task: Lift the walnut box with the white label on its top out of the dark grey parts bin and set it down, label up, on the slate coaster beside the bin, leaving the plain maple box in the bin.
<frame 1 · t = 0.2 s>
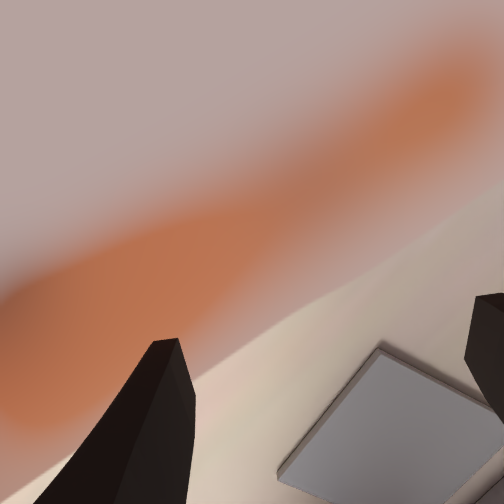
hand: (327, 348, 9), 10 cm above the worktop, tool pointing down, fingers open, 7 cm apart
coaster: (393, 446, 25), on the worktop
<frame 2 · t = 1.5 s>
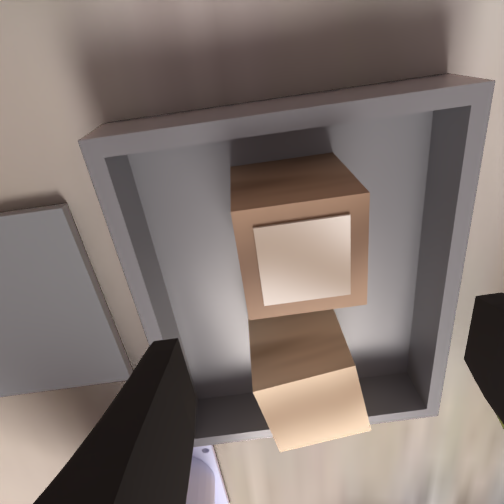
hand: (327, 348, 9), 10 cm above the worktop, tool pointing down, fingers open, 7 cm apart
coaster: (3, 312, 20), on the worktop
box plain: (297, 336, 22), resting on parts bin
box stamped: (285, 207, 18), resting on parts bin
parts bin: (291, 273, 20), on the worktop
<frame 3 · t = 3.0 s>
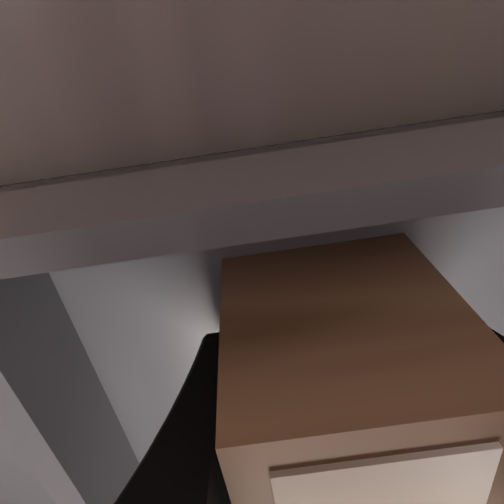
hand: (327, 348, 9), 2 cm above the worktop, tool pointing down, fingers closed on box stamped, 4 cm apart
box stamped: (317, 317, 10), resting on parts bin, touching gripper
parts bin: (320, 400, 13), on the worktop
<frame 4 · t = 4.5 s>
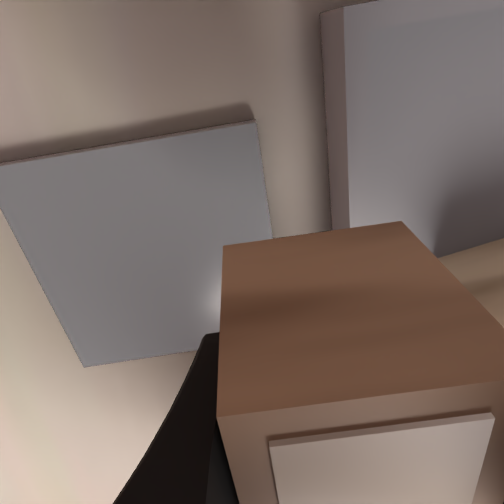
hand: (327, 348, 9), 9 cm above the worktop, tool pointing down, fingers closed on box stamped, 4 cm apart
coaster: (157, 258, 18), on the worktop
box plain: (481, 282, 19), resting on parts bin
box stamped: (316, 304, 11), point 7 cm above the worktop, touching gripper
parts bin: (487, 205, 18), on the worktop
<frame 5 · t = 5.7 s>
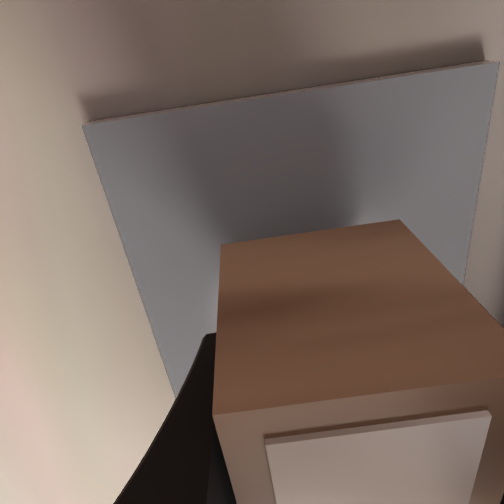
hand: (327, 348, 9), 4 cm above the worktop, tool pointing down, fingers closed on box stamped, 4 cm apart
coaster: (299, 261, 13), on the worktop
box stamped: (314, 303, 11), point 3 cm above the worktop, touching gripper
when the fingers open (3 cm above the worktop, at t = 6.4 s): box stamped drops 1 cm, resting on coaster.
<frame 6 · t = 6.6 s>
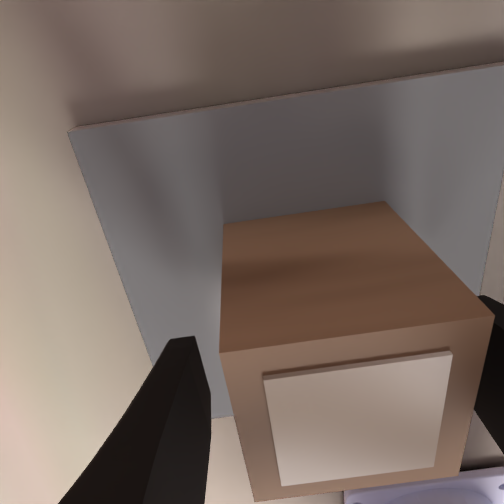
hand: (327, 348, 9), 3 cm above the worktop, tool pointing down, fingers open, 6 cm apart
coaster: (304, 275, 12), on the worktop
box stamped: (308, 279, 12), point 1 cm above the worktop, touching coaster
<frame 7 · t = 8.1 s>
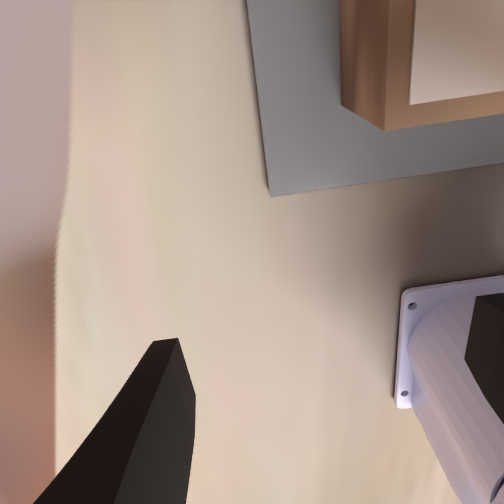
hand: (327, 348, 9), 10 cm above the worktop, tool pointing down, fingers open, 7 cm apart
coaster: (391, 41, 15), on the worktop
box stamped: (399, 34, 14), point 1 cm above the worktop, touching coaster
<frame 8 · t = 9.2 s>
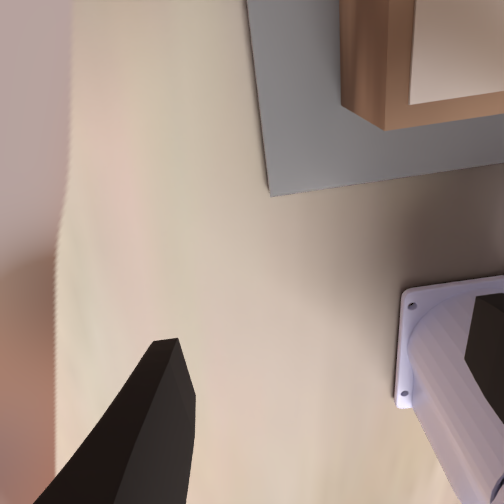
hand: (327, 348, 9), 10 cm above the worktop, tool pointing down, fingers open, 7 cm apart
coaster: (391, 41, 15), on the worktop
box stamped: (399, 34, 14), point 1 cm above the worktop, touching coaster
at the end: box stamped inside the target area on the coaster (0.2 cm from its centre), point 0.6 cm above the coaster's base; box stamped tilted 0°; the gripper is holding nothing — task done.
